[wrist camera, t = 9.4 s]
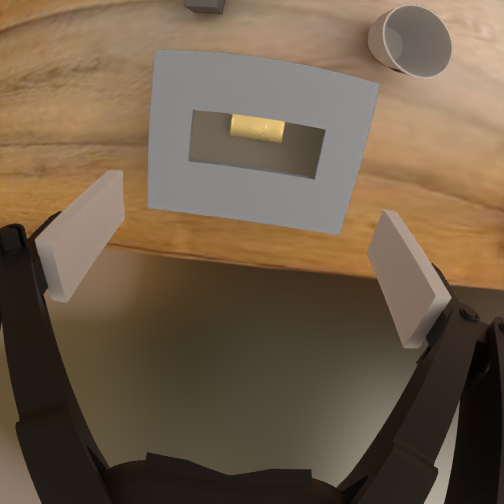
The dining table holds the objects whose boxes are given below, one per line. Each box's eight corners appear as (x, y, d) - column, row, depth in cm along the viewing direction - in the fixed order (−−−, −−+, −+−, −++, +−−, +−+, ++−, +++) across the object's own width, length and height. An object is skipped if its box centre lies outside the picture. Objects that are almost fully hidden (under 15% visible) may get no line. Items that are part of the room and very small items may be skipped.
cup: (361, 74, 34) (389, 79, 25) (349, 14, 29) (375, 2, 21) (417, 72, 32) (457, 79, 24) (408, 14, 28) (446, 7, 20)
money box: (186, 52, 33) (155, 49, 23) (348, 76, 34) (380, 83, 24) (176, 169, 42) (147, 208, 32) (322, 190, 43) (339, 235, 33)
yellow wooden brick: (235, 107, 36) (233, 110, 34) (284, 114, 37) (285, 118, 34) (232, 130, 38) (229, 135, 35) (280, 137, 38) (281, 143, 36)
